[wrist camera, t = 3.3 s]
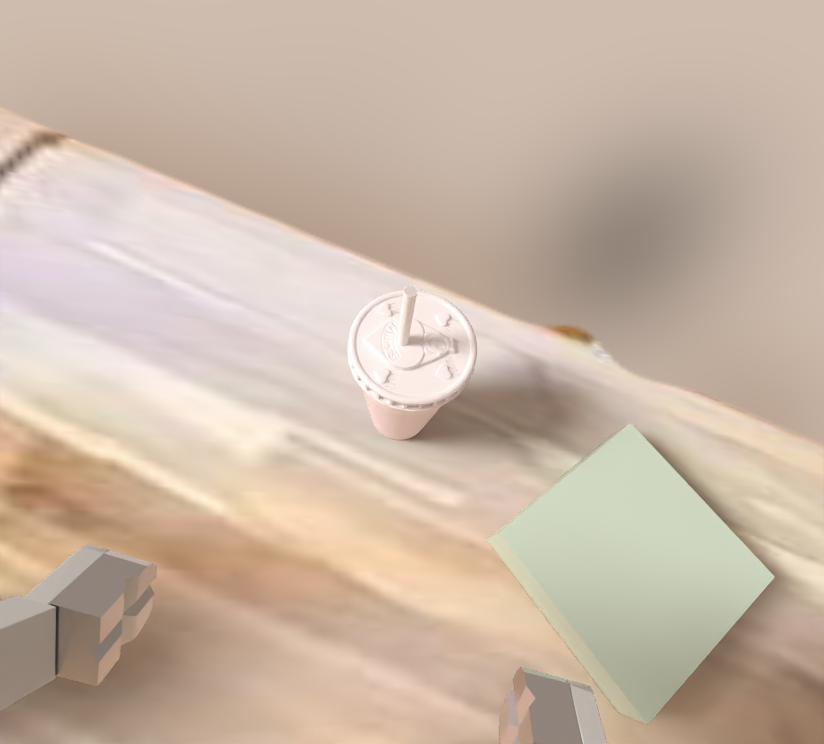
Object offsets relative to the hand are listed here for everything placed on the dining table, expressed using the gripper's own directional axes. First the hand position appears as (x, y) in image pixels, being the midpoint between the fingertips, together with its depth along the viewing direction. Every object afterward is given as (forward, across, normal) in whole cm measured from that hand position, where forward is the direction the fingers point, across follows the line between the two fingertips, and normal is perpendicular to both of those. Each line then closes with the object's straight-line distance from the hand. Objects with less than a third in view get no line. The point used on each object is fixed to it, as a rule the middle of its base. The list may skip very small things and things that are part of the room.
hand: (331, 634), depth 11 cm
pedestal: (+18, -14, +8) cm, 24 cm away
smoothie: (+22, 0, +4) cm, 22 cm away
